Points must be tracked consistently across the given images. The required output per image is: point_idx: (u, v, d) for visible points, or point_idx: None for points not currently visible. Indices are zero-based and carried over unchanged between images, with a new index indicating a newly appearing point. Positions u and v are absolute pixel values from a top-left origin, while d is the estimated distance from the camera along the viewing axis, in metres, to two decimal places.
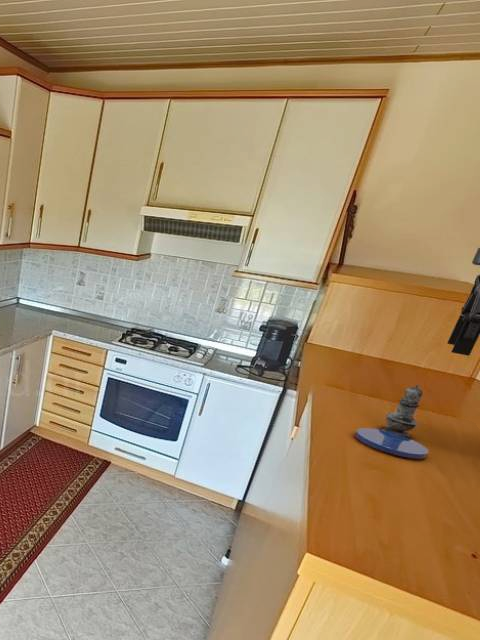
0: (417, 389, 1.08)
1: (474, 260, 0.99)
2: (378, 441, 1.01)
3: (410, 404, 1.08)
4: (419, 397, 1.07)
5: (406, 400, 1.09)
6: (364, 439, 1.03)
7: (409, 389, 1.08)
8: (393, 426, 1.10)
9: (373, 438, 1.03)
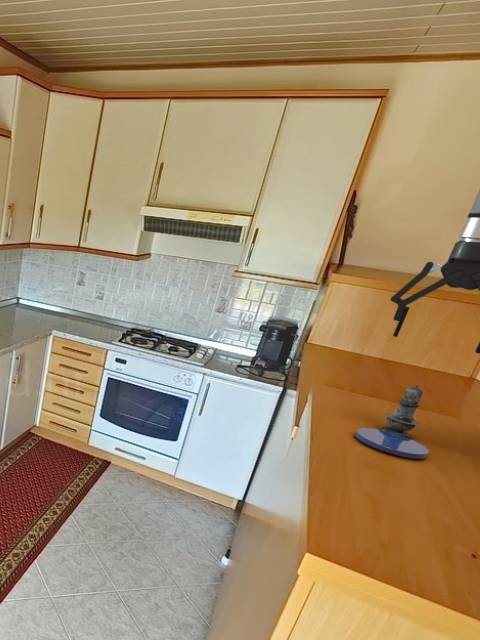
0: (417, 389, 1.08)
1: None
2: (378, 441, 1.01)
3: (410, 404, 1.08)
4: (419, 397, 1.07)
5: (406, 400, 1.09)
6: (364, 439, 1.03)
7: (409, 389, 1.08)
8: (393, 426, 1.10)
9: (373, 438, 1.03)
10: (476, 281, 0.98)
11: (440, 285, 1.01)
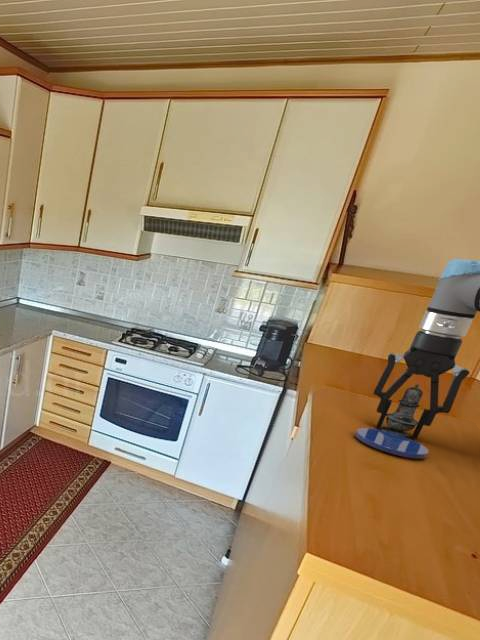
0: (417, 389, 1.08)
1: (442, 351, 1.02)
2: (378, 441, 1.01)
3: (410, 404, 1.08)
4: (419, 397, 1.07)
5: (406, 400, 1.09)
6: (364, 439, 1.03)
7: (409, 389, 1.08)
8: (393, 426, 1.10)
9: (373, 438, 1.03)
10: (435, 370, 1.04)
11: (409, 375, 1.07)
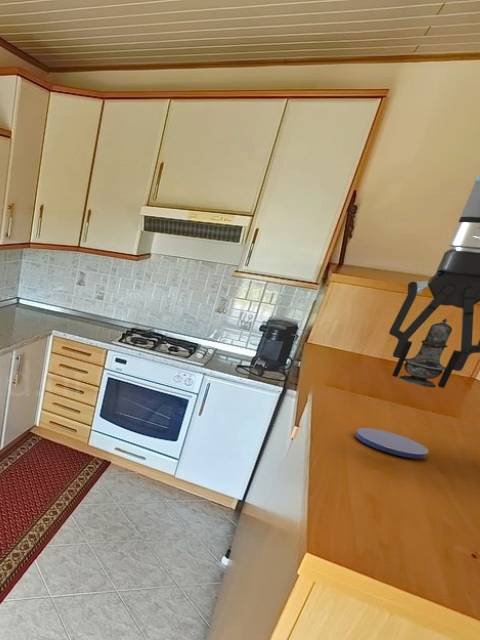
0: (445, 324, 0.85)
1: (479, 271, 0.79)
2: (378, 441, 1.01)
3: (436, 344, 0.86)
4: (448, 334, 0.85)
5: (431, 340, 0.87)
6: (364, 439, 1.03)
7: (435, 325, 0.86)
8: (414, 373, 0.88)
9: (373, 438, 1.03)
10: (469, 298, 0.82)
11: (435, 307, 0.85)
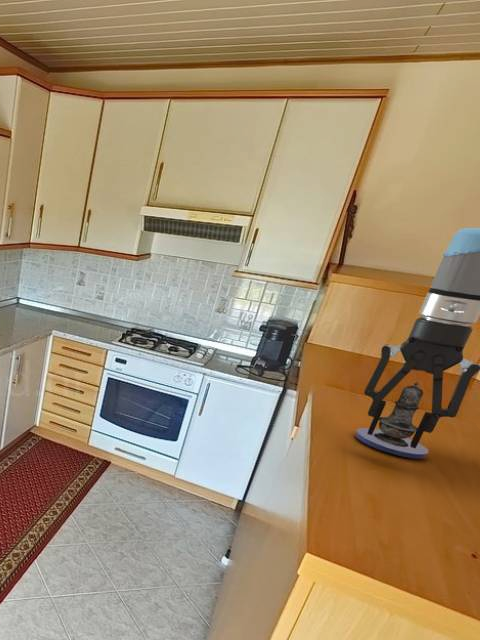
0: (416, 388, 0.89)
1: (447, 342, 0.83)
2: (378, 441, 1.01)
3: (408, 406, 0.89)
4: (419, 398, 0.89)
5: (403, 402, 0.90)
6: (364, 439, 1.03)
7: (407, 388, 0.90)
8: (387, 432, 0.92)
9: (373, 438, 1.03)
10: (439, 365, 0.86)
11: (407, 371, 0.89)
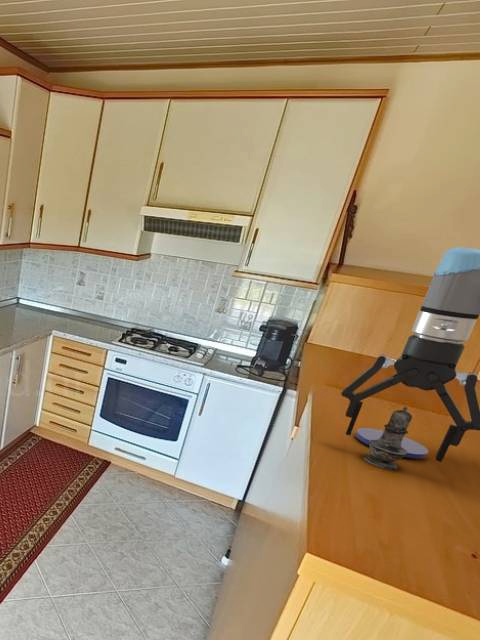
0: (405, 412, 0.91)
1: (440, 360, 0.84)
2: None
3: (397, 430, 0.91)
4: (408, 422, 0.90)
5: (392, 426, 0.92)
6: (364, 439, 1.03)
7: (396, 412, 0.91)
8: (377, 455, 0.93)
9: (373, 438, 1.03)
10: (432, 382, 0.86)
11: (394, 383, 0.90)
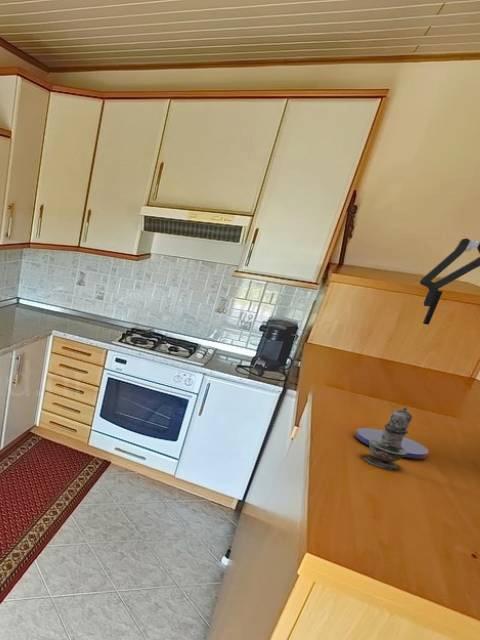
0: (405, 412, 0.91)
1: None
2: None
3: (397, 430, 0.91)
4: (408, 422, 0.90)
5: (392, 426, 0.92)
6: (364, 439, 1.03)
7: (396, 412, 0.91)
8: (377, 455, 0.93)
9: (373, 438, 1.03)
10: None
11: (478, 264, 0.90)
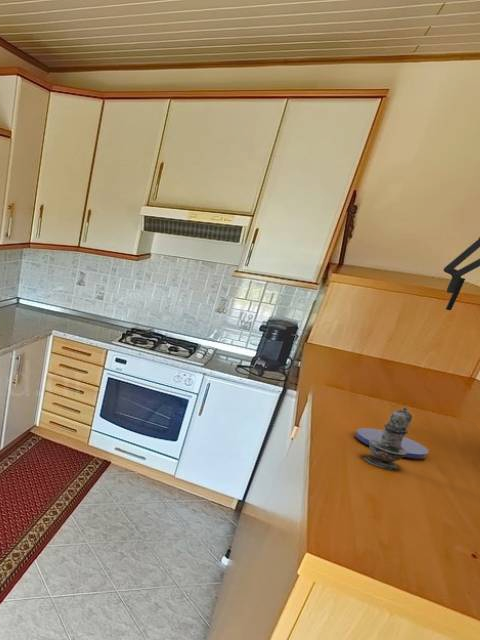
0: (405, 412, 0.91)
1: None
2: None
3: (397, 430, 0.91)
4: (408, 422, 0.90)
5: (392, 426, 0.92)
6: (364, 439, 1.03)
7: (396, 412, 0.91)
8: (377, 455, 0.93)
9: (373, 438, 1.03)
10: None
11: None
